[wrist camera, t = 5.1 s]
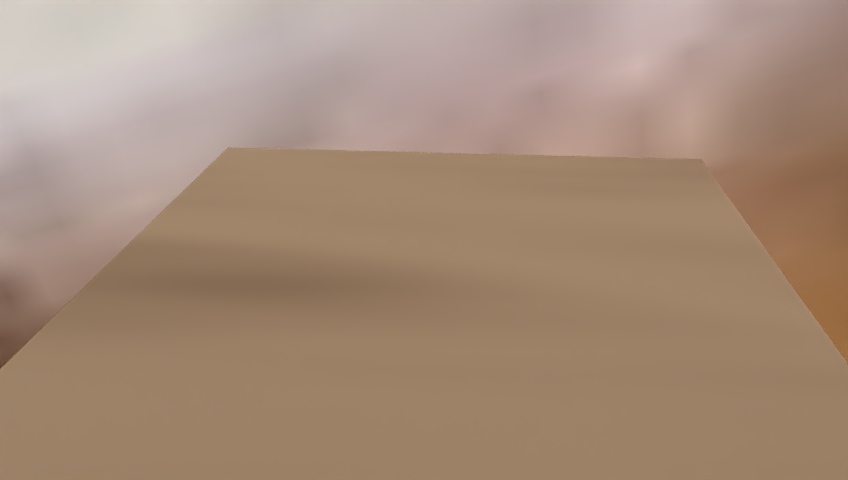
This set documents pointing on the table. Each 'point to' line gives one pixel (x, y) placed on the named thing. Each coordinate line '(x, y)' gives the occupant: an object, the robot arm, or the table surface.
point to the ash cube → (433, 332)
